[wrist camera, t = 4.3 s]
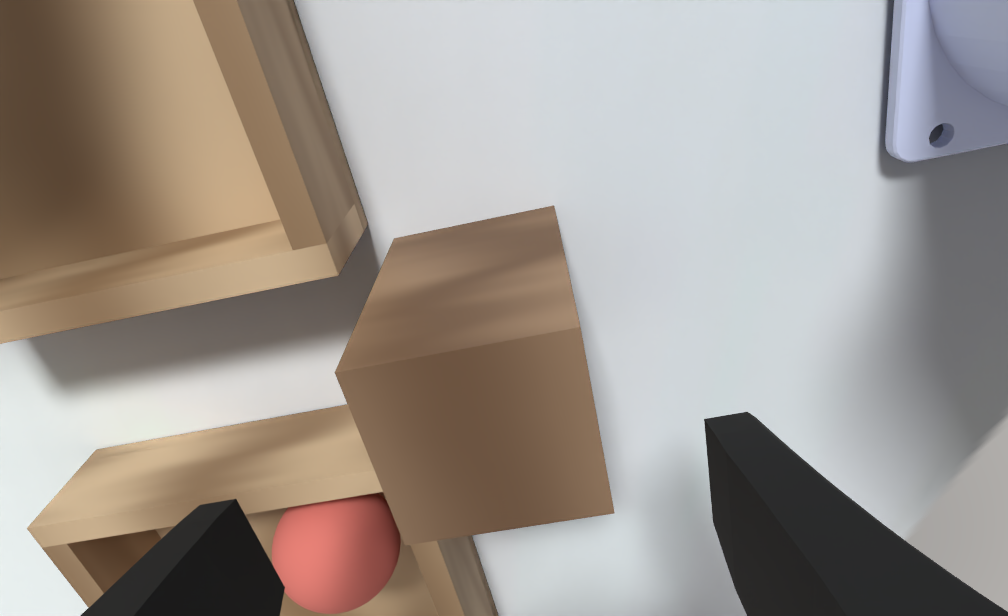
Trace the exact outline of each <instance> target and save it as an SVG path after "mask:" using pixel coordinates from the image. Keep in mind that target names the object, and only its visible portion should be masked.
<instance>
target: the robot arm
mask: <svg viewBox="0 0 1008 616" xmlns="http://www.w3.org/2000/svg"><path fill="white" fill-rule="evenodd" d="M940 124H942V125H943V131H942V134H941V136H940V137H939V138H938V139H937V140H936V141H934V142H932V143H930V142H929V136H930V133H931V131H932V130H933V129H934V128H935V127H936V126H938V125H940ZM885 143H886V150H887V151H888V153H889V154H890V155H891V156H892V157H895V158H897V159H899V160H901V161H904V162H918V161H923V160H928V159H933V158H938V157H943V156H948V155H953V154H958V153H963V152H968V151H973V150H978V149H983V148H988V147H993V146H998V145H1003V144H1008V0H894V12H893V28H892V44H891V59H890V75H889V91H888V107H887V122H886V138H885ZM704 421H705V432H706V444H707V456H708V467H709V479H710V491H711V502H712V514H713V523H714V526H715V529H716V532H717V535H718V538H719V541H720V544H721V547H722V550H723V553H724V557H725V560H726V563H727V565H728V568H729V571H730V574H731V577H732V580H733V583H734V586H735V589H736V591H737V594H738V596H739V598H740V600H741V603H742V605H743V607H744V609H745V612H746V614H747V616H1008V612H1007V611H1006V610H1004V609H1003V608H1001V607H999V606H998V605H996V604H995V603H993V602H992V601H990V600H989V599H987V598H986V597H984V596H983V595H981V594H979V593H978V592H977V591H975V590H974V589H973V588H971V587H970V586H968V585H967V584H965V583H964V582H962V581H961V580H959V579H958V578H957V577H955V576H954V575H952V574H951V573H949V572H948V571H946V570H945V569H943V568H942V567H941V566H939V565H938V564H937V563H935V562H934V561H933V560H931V559H930V558H928V557H927V556H925V555H924V554H923V553H921V552H920V551H919V550H917V549H916V548H914V547H913V546H911V545H910V544H909V543H907V542H906V541H905V540H903V539H902V538H901V537H899V536H898V535H897V534H895V533H894V532H893V531H891V530H890V529H889V528H887V527H886V526H885V525H883V524H882V523H881V522H880V521H878V520H877V519H876V518H875V517H873V516H872V515H871V514H869V513H868V512H867V511H866V510H864V509H863V508H862V507H861V506H859V505H858V504H857V503H855V502H854V501H853V500H852V499H850V498H849V497H848V496H847V495H845V494H844V493H843V492H842V491H840V490H839V489H838V488H837V487H835V486H834V485H833V484H832V483H830V482H829V481H828V480H827V479H826V478H824V477H823V476H822V475H821V474H820V473H818V472H817V471H816V470H815V469H814V468H813V467H811V466H810V465H809V464H808V463H807V462H805V461H804V460H803V459H802V458H801V457H800V456H798V455H797V454H796V453H795V452H794V451H793V450H792V449H790V448H789V447H788V446H787V445H786V444H785V443H784V442H782V441H781V440H780V439H779V438H778V437H777V436H776V435H775V434H773V433H772V432H771V431H770V430H769V429H768V428H767V427H766V426H765V425H763V424H762V423H761V422H760V421H759V420H758V419H757V418H756V417H754V416H753V415H751V414H750V413H748V412H744V413H738V414H732V415H726V416H720V417H714V418H708V419H704ZM284 590H285V587H284V585H283V583H282V581H281V579H280V577H279V576H278V574H277V572H276V570H275V568H274V567H273V565H272V563H271V561H270V559H269V557H268V556H267V554H266V552H265V550H264V548H263V547H262V545H261V543H260V541H259V539H258V538H257V536H256V534H255V532H254V530H253V528H252V527H251V525H250V523H249V521H248V519H247V518H246V516H245V514H244V512H243V510H242V508H241V507H240V505H239V503H238V501H237V499H231V500H226V501H220V502H214V503H208V504H202V505H199V506H198V507H197V508H195V509H194V510H193V511H192V512H191V513H190V514H188V515H187V516H186V517H185V518H184V519H183V520H181V521H180V522H179V523H178V524H177V525H176V526H175V527H174V528H173V529H171V530H170V531H169V532H168V533H167V534H166V535H165V536H164V537H163V538H162V539H161V540H160V541H159V542H157V543H156V544H155V545H154V546H153V547H152V548H151V549H150V550H149V551H148V552H147V553H146V554H145V555H144V556H143V557H142V558H141V559H140V560H139V561H137V562H136V563H135V564H134V565H133V566H132V567H131V568H130V569H129V570H128V571H127V572H126V573H125V574H124V575H123V576H122V577H121V578H120V579H119V580H118V581H117V582H115V583H114V584H113V585H112V586H111V587H110V588H109V589H108V590H107V591H106V592H105V593H104V594H103V595H102V596H101V597H100V598H99V599H98V600H97V601H95V602H94V603H93V604H92V605H91V606H90V607H89V608H88V609H87V610H86V611H85V612H84V613H83V614H82V615H81V616H280V612H281V606H282V601H283V595H284Z"/></svg>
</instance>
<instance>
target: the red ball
mask: <svg viewBox="0 0 1008 616" xmlns="http://www.w3.org/2000/svg"><path fill="white" fill-rule="evenodd" d="M400 545H401V537H400V532H399V530H398V527H397V525H396V522H395V520H394V517H393V515H392V512H391V510H390V507H389V505H388V502H387V501H386V500H385V499H384V498H383V497H382V496H381V495H380V494H379V493H373V494H366V495H360V496H354V497H348V498H342V499H336V500H330V501H324V502H318V503H312V504H306V505H299V506H293V507H288V508H287V510H286V511H285V513H284V514H283V516H282V517H281V519H280V521H279V523H278V525H277V528H276V531H275V534H274V537H273V543H272V564H273V567H274V568H275V570H276V572H277V574H278V576H279V577H280V579H281V581H282V583H283V585H284V587H285V590H284V592H285V593H286V594H287V595H288V597H289V598H291V599H292V600H293V601H294V602H295V603H297V604H298V605H300V606H301V607H303V608H305V609H308V610H310V611H313V612H317V613H323V614H338V613H343V612H348V611H351V610H354V609H356V608H358V607H360V606H362V605H364V604H366V603H367V602H369V601H370V600H371V599H372V598H374V597H375V596H376V595H377V594H378V593H379V592H380V591H381V590H382V589H383V588H384V587H385V585H386V584H387V582H388V581H389V579H390V578H391V576H392V574H393V572H394V570H395V567H396V565H397V562H398V558H399V554H400Z"/></svg>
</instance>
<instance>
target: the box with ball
mask: <svg viewBox="0 0 1008 616" xmlns="http://www.w3.org/2000/svg"><path fill="white" fill-rule="evenodd" d="M373 493H379V494H380V495H381V496H382V497H383V498H384V499H385V500H386V498H385V495H384V493H383V490H382V488H381V485H380V483H379V480H378V478H377V475H376V473H375V470H374V468H373V465H372V463H371V461H370V458H369V456H368V453H367V451H366V448H365V446H364V443H363V441H362V438H361V436H360V433H359V431H358V428H357V426H356V424H355V421H354V419H353V416H352V414H351V411H350V409H349V406H348V405H342V406H337V407H331V408H326V409H320V410H314V411H309V412H303V413H298V414H292V415H287V416H281V417H276V418H270V419H264V420H259V421H253V422H248V423H242V424H237V425H231V426H225V427H220V428H214V429H209V430H203V431H198V432H192V433H186V434H181V435H175V436H170V437H164V438H159V439H153V440H147V441H142V442H136V443H131V444H125V445H120V446H114V447H108V448H103V449H97V450H96V451H95V452H94V453H93V454H92V455H91V456H90V457H89V458H88V460H87V461H86V462H85V463H84V464H83V465H82V466H81V468H80V469H79V470H78V471H77V472H76V473H75V474H74V475H73V477H72V478H71V479H70V480H69V481H68V482H67V483H66V485H65V486H64V487H63V488H62V489H61V490H60V491H59V492H58V494H57V495H56V496H55V497H54V498H53V499H52V500H51V502H50V503H49V504H48V505H47V506H46V507H45V508H44V509H43V511H42V512H41V513H40V514H39V515H38V516H37V517H36V519H35V520H34V521H33V522H32V523H31V524H30V525H29V526H28V528H27V529H28V531H29V532H30V533H31V534H32V536H33V537H34V538H35V540H36V541H37V542H38V543H39V545H40V546H41V547H42V549H43V550H44V551H45V552H46V554H47V555H48V556H49V557H50V559H51V560H52V561H53V563H54V564H55V565H56V566H57V568H58V569H59V570H60V572H61V573H62V574H63V575H64V577H65V578H66V579H67V581H68V582H69V583H70V584H71V586H72V587H73V588H74V589H75V591H76V592H77V593H78V595H79V596H80V597H81V598H82V600H83V601H84V602H85V604H86V605H87V606H88V607H90V606H91V605H92V604H93V603H94V602H95V601H97V600H98V599H99V598H100V597H101V596H102V595H103V594H104V593H105V592H106V591H107V590H108V589H109V588H110V587H111V586H112V585H113V584H114V583H115V582H117V581H118V580H119V579H120V578H121V577H122V576H123V575H124V574H125V573H126V572H127V571H128V570H129V569H130V568H131V567H132V566H133V565H134V564H135V563H136V562H137V561H139V560H140V559H141V558H142V557H143V556H144V555H145V554H146V553H147V552H148V551H149V550H150V549H151V548H152V547H153V546H154V545H155V544H156V543H157V542H159V541H160V540H161V539H162V538H163V537H164V536H165V535H166V534H167V533H168V532H169V531H170V530H171V529H173V528H174V527H175V526H176V525H177V524H178V523H179V522H180V521H181V520H183V519H184V518H185V517H186V516H187V515H188V514H190V513H191V512H192V511H193V510H194V509H195V508H197V507H198V506H199V505H202V504H208V503H214V502H220V501H226V500H231V499H237V501H238V503H239V505H240V507H241V508H242V510H243V512H244V514H245V516H246V518H247V519H248V521H249V523H250V525H251V527H252V528H253V530H254V532H255V534H256V536H257V538H258V539H259V541H260V543H261V545H262V547H263V548H264V550H265V552H266V554H267V556H268V557H269V559H270V561H271V563H272V543H273V537H274V534H275V531H276V528H277V525H278V523H279V521H280V519H281V517H282V516H283V514H284V513H285V511H286V510H287V508H288V507H293V506H299V505H306V504H312V503H318V502H324V501H330V500H336V499H342V498H348V497H354V496H360V495H366V494H373ZM386 501H387V500H386ZM400 537H401V535H400ZM272 565H273V564H272ZM280 616H498V613H497V610H496V607H495V604H494V601H493V598H492V595H491V592H490V589H489V586H488V583H487V580H486V577H485V574H484V571H483V568H482V565H481V562H480V559H479V556H478V553H477V550H476V547H475V544H474V541H473V538H472V535H470V536H464V537H457V538H451V539H444V540H438V541H431V542H425V543H418V544H412V545H405V544H404V542H403V539H402V537H401V545H400V554H399V558H398V562H397V565H396V567H395V570H394V572H393V574H392V576H391V578H390V579H389V581H388V582H387V584H386V585H385V587H384V588H383V589H382V590H381V591H380V592H379V593H378V594H377V595H376V596H375V597H374V598H372V599H371V600H370V601H369V602H367V603H366V604H364V605H362V606H360V607H358V608H356V609H354V610H351V611H348V612H343V613H338V614H323V613H317V612H313V611H310V610H308V609H305V608H303V607H301V606H300V605H298V604H297V603H295V602H294V601H293V600H292V599H291V598H289V597H288V595H287V594H286V593H285V592H284V595H283V601H282V606H281V612H280Z"/></svg>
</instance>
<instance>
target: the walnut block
mask: <svg viewBox="0 0 1008 616" xmlns="http://www.w3.org/2000/svg"><path fill="white" fill-rule="evenodd" d="M335 374H336V377H337V379H338V382H339V384H340V387H341V389H342V392H343V394H344V396H345V399H346V401H347V404H348V406H349V409H350V411H351V414H352V416H353V419H354V421H355V424H356V426H357V428H358V431H359V433H360V436H361V438H362V441H363V443H364V446H365V448H366V451H367V453H368V456H369V458H370V461H371V463H372V465H373V468H374V470H375V473H376V475H377V478H378V480H379V483H380V485H381V488H382V490H383V493H384V495H385V498H386V500H387V502H388V505H389V507H390V510H391V512H392V515H393V517H394V520H395V522H396V525H397V527H398V530H399V532H400V535H401V537H402V539H403V542H404V544H405V545H412V544H418V543H425V542H431V541H438V540H444V539H451V538H457V537H464V536H470V535H477V534H483V533H490V532H496V531H503V530H509V529H516V528H522V527H529V526H535V525H542V524H548V523H554V522H561V521H567V520H574V519H580V518H587V517H593V516H600V515H606V514H613V513H614V508H613V502H612V497H611V492H610V486H609V481H608V475H607V470H606V464H605V459H604V453H603V448H602V442H601V437H600V432H599V426H598V421H597V415H596V410H595V404H594V399H593V393H592V388H591V382H590V377H589V371H588V366H587V361H586V355H585V350H584V344H583V339H582V333H581V328H580V323H579V318H578V314H577V309H576V305H575V300H574V295H573V291H572V286H571V282H570V277H569V272H568V268H567V263H566V259H565V254H564V249H563V245H562V240H561V235H560V231H559V226H558V222H557V217H556V212H555V208H554V206H550V207H545V208H540V209H535V210H530V211H525V212H521V213H516V214H511V215H506V216H501V217H496V218H491V219H487V220H482V221H477V222H472V223H467V224H462V225H457V226H453V227H448V228H443V229H438V230H433V231H428V232H423V233H419V234H414V235H409V236H404V237H399V238H394V240H393V242H392V244H391V247H390V249H389V251H388V253H387V256H386V258H385V260H384V262H383V265H382V267H381V269H380V271H379V274H378V276H377V278H376V281H375V283H374V285H373V287H372V290H371V292H370V294H369V296H368V299H367V301H366V303H365V305H364V308H363V310H362V312H361V314H360V317H359V319H358V321H357V324H356V326H355V328H354V330H353V333H352V335H351V337H350V339H349V342H348V344H347V346H346V348H345V351H344V353H343V355H342V357H341V360H340V362H339V364H338V367H337V369H336V371H335Z"/></svg>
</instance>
